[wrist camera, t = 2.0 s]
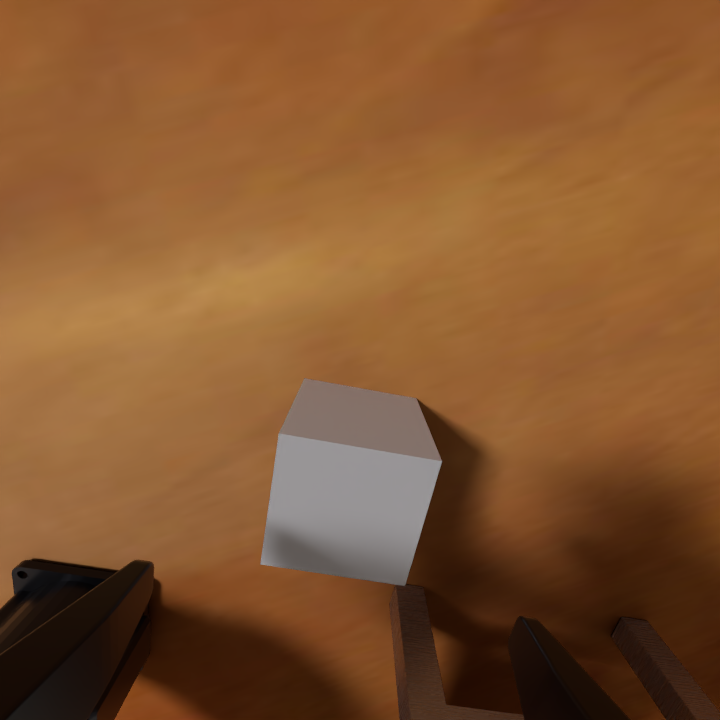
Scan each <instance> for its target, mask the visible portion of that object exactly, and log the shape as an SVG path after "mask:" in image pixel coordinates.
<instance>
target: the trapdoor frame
mask: <svg viewBox="0 0 720 720" xmlns="http://www.w3.org/2000/svg"><path fill="white" fill-rule="evenodd" d="M390 615H391V626H392V637H393V649H394V660H395V672H396V683H397V695H398V706H399V718H400V720H524V716H523V715H521V714H513V713H505V712H498V711H490V710H482V709H475V708H467V707H460V706H452V705H446V701H445V696H444V691H443V686H442V681H441V675H440V670H439V665H438V660H437V655H436V650H435V645H434V639H433V634H432V629H431V624H430V619H429V614H428V609H427V603H426V598H425V593H424V588H423V587H419V586H412V585H406V584H405V586H402V585H395V587H394V591H393V594H392V598H391V601H390ZM611 637H612V639H613V640H614V642H615V643H616V645H617V646H618V648H619V649H620V651H621V652H622V654H623V656H624V657H625V659H626V660H627V662H628V663H629V665H630V666H631V668H632V669H633V671H634V672H635V674H636V675H637V677H638V678H639V680H640V681H641V683H642V684H643V686H644V687H645V689H646V690H647V692H648V693H649V695H650V696H651V698H652V699H653V701H654V702H655V704H656V705H657V707H658V708H659V710H660V711H661V713H662V714H663V716H664V717H665V719H666V720H720V712H719V710H718V709H717V708H716V707H715V705H714V704H713V703H712V702H711V700H710V699H709V698H708V697H707V695H706V694H705V693H704V692H703V690H702V689H701V688H700V687H699V685H698V684H697V683H696V682H695V680H694V679H693V678H692V676H691V675H690V674H689V673H688V671H687V670H686V669H685V668H684V666H683V665H682V664H681V663H680V661H679V660H678V659H677V658H676V656H675V655H674V654H673V653H672V651H671V650H670V649H669V648H668V646H667V645H666V644H665V642H664V641H663V640H662V639H661V637H660V636H659V635H658V634H657V632H656V631H655V630H654V629H653V627H652V626H651V625H650V624H649V622H648V621H645V620H639V619H632V618H625V617H621V619H620V621H619V623H618V625H617V626H616V628H615V630H614V632H613V634H612V635H611Z"/></svg>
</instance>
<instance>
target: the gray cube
mask: <svg viewBox="0 0 720 720" xmlns="http://www.w3.org/2000/svg"><path fill="white" fill-rule="evenodd" d="M441 463H442V460H441V457H440V455H439V452H438V450H437V448H436V445H435V443H434V440H433V438H432V435H431V433H430V430H429V428H428V426H427V423H426V421H425V418H424V416H423V413H422V411H421V408H420V406H419V403H418V401H417V399H416V398H411V397H406V396H400V395H394V394H389V393H383V392H378V391H372V390H367V389H361V388H356V387H350V386H345V385H339V384H333V383H328V382H322V381H317V380H311V379H306V378H304V380H303V383H302V385H301V387H300V389H299V391H298V393H297V395H296V398H295V400H294V402H293V404H292V406H291V408H290V411H289V413H288V415H287V417H286V419H285V421H284V424H283V426H282V428H281V430H280V432H279V437H278V444H277V451H276V458H275V465H274V472H273V479H272V486H271V493H270V500H269V508H268V515H267V522H266V529H265V536H264V543H263V550H262V557H261V564H262V565H268V566H275V567H282V568H288V569H295V570H302V571H308V572H315V573H322V574H328V575H335V576H342V577H348V578H355V579H362V580H368V581H375V582H382V583H389V584H395V585H402V586H405V584H406V581H407V578H408V574H409V571H410V568H411V564H412V561H413V557H414V554H415V551H416V547H417V544H418V541H419V537H420V534H421V531H422V527H423V524H424V521H425V517H426V514H427V510H428V507H429V504H430V500H431V497H432V494H433V490H434V487H435V484H436V480H437V477H438V473H439V470H440V467H441Z"/></svg>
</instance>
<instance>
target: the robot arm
mask: <svg viewBox="0 0 720 720" xmlns="http://www.w3.org/2000/svg"><path fill="white" fill-rule="evenodd" d="M12 578H13V587H14V596H13V597H12V598H11V599H10V600H9V601H8V602H7V603H6V604H5V605H4V606H3V607H2V608H1V609H0V720H114V719H115V717H116V715H117V713H118V712H119V710H120V708H121V706H122V704H123V702H124V700H125V698H126V697H127V695H128V693H129V691H130V689H131V687H132V685H133V683H134V681H135V680H136V678H137V676H138V674H139V672H140V671H141V670H142V668H143V667H144V665H145V663H146V661H147V657H148V655H149V653H150V632H151V620H150V617H149V615H148V605H149V600H150V597H151V595H152V591H153V578H154V564H153V563H152V562H150V561H144V560H134V561H132V562H131V563H129V564H128V565H126V566H125V567H123V568H122V569H121V570H119V571H118V572H116V573H113V572H106V571H99V570H92V569H85V568H78V567H71V566H65V565H58V564H51V563H44V562H37V561H30V560H25V561H22V562H21V563H20V564H19V565H18V566H16V567H15V568H14V569H13V570H12ZM508 649H509V654H510V659H511V663H512V667H513V672H514V676H515V681H516V685H517V689H518V694H519V698H520V703H521V707H522V711H523V716H524V720H630V719H629V718H628V717H627V716H626V714H625V713H624V712H623V711H622V710H621V709H620V708H619V707H618V706H617V705H616V704H615V703H614V702H613V700H612V699H611V698H610V697H609V696H608V695H607V694H606V693H605V692H604V691H603V690H602V689H601V687H600V686H599V685H598V684H597V683H596V682H595V681H594V680H593V679H592V678H591V677H590V676H589V675H588V673H587V672H586V671H585V670H584V669H583V668H582V667H581V666H580V665H579V664H578V663H577V662H576V660H575V659H574V658H573V657H572V656H571V655H570V654H569V653H568V652H567V651H566V650H565V649H564V648H563V646H562V645H561V644H560V643H559V642H558V641H557V640H556V639H555V638H554V637H553V636H552V635H551V634H550V632H549V631H548V630H547V629H546V628H545V627H544V626H543V625H542V624H541V623H540V622H539V621H538V620H537V619H535V618H533V617H526V616H519V617H518V618H517V620H516V622H515V624H514V627H513V629H512V631H511V634H510V636H509V639H508Z"/></svg>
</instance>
